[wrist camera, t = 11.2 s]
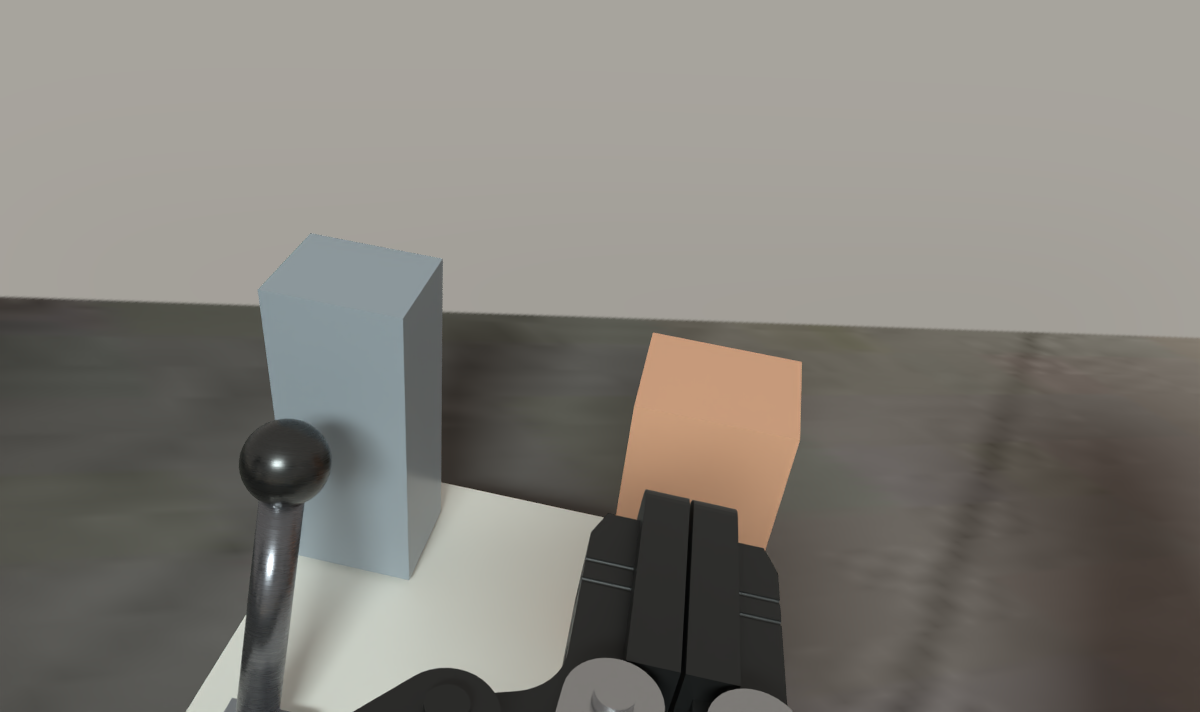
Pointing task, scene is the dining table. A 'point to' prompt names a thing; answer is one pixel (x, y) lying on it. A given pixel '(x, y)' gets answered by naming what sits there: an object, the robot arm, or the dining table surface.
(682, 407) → the terracotta slider
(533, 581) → the control board
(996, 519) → the dining table surface
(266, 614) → the toggle lever
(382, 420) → the slate slider
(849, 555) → the dining table surface
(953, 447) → the dining table surface
